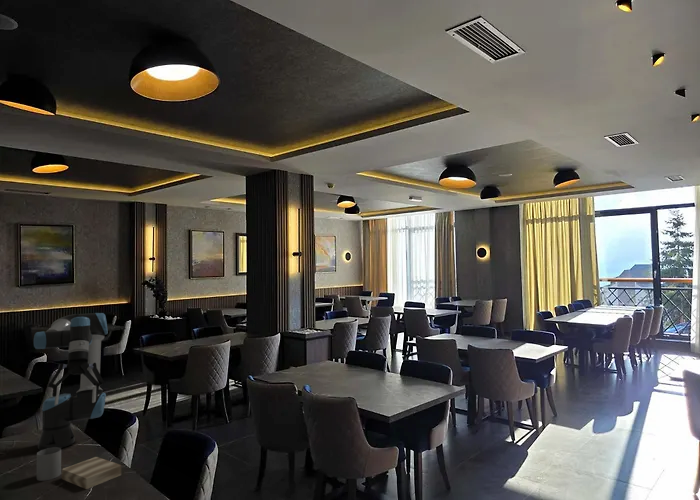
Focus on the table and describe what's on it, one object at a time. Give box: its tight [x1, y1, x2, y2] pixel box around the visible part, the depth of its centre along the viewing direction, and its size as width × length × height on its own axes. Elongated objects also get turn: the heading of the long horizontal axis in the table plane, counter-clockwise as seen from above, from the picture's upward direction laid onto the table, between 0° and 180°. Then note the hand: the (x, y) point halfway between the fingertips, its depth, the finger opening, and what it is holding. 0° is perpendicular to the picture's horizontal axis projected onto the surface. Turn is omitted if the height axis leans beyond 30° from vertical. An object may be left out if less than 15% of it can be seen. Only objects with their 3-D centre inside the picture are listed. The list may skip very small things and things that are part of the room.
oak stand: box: [61, 456, 122, 490], centre depth 186 cm, size 18×14×4 cm
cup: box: [36, 447, 62, 482], centre depth 188 cm, size 8×8×10 cm
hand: (75, 403), depth 189 cm, fingers open, 13 cm apart
